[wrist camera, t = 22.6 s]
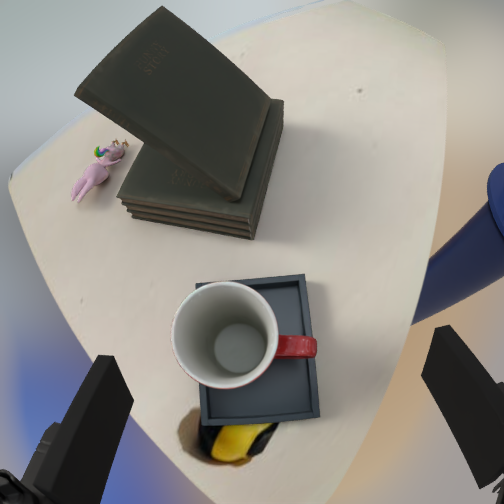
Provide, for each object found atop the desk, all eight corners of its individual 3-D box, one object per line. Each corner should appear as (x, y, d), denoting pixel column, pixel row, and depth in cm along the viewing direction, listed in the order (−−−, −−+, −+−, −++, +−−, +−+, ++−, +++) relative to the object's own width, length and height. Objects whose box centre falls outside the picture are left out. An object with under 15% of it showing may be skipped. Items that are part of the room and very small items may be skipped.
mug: (197, 377, 36) (160, 375, 23) (211, 308, 39) (183, 273, 27) (299, 395, 34) (315, 403, 22) (310, 323, 37) (329, 294, 25)
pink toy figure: (113, 149, 54) (67, 204, 47) (105, 125, 49) (53, 181, 42) (137, 152, 53) (91, 212, 46) (129, 128, 48) (77, 187, 41)
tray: (302, 280, 40) (304, 273, 38) (316, 414, 33) (320, 417, 31) (199, 289, 41) (195, 283, 38) (206, 422, 34) (201, 425, 31)
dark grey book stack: (253, 241, 43) (234, 92, 20) (131, 217, 46) (49, 100, 23) (283, 126, 52) (284, -3, 29) (182, 116, 54) (148, 3, 31)
